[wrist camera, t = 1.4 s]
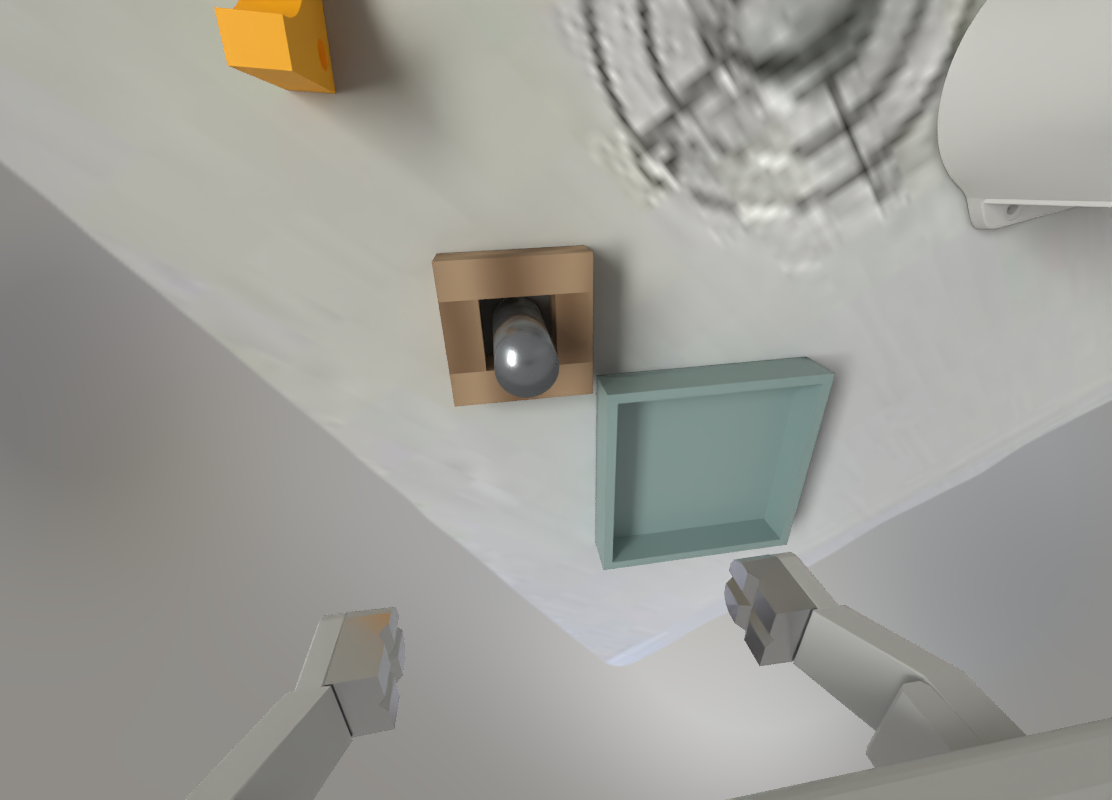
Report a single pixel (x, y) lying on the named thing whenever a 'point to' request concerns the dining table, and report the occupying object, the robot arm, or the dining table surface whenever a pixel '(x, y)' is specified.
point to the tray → (703, 457)
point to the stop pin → (523, 349)
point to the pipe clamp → (279, 42)
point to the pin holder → (515, 276)
